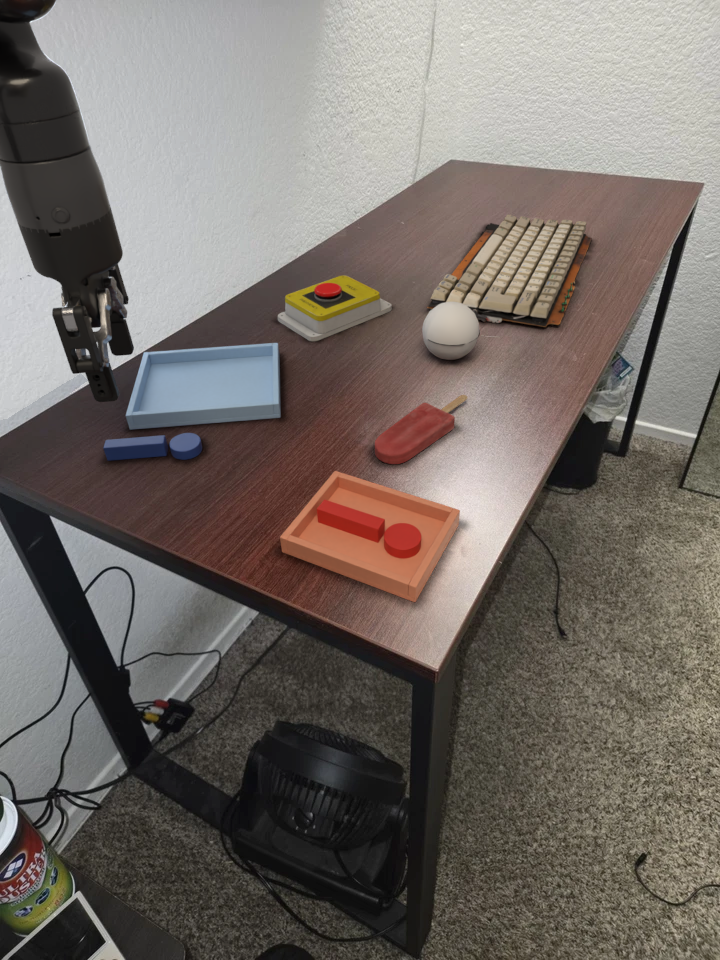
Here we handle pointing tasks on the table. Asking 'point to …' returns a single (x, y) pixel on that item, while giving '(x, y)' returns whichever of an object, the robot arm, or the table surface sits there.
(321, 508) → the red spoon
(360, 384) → the table surface
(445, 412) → the popsicle
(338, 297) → the emergency button
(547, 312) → the mechanical keyboard
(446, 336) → the seamed sphere
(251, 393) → the blue tray
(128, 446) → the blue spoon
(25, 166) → the robot arm
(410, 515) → the clay tray
